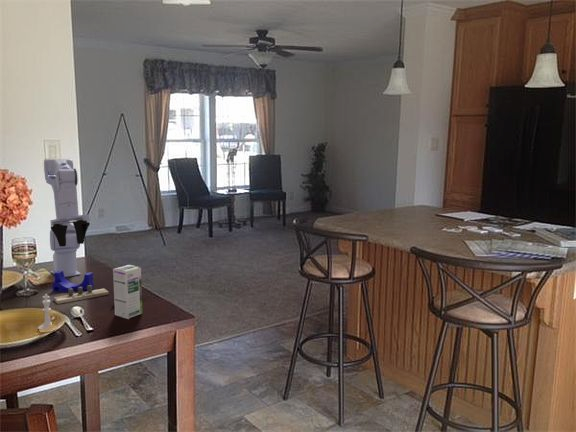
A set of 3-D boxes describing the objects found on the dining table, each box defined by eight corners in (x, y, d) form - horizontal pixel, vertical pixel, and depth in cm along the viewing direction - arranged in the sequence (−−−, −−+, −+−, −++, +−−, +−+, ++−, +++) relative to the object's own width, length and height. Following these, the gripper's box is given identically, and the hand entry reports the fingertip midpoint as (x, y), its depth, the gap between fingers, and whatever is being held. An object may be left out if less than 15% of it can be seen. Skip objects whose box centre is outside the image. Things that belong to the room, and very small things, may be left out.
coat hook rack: (53, 300, 163) (53, 291, 163) (104, 291, 173) (103, 282, 173) (57, 303, 160) (57, 294, 160) (108, 294, 170) (108, 285, 170)
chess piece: (41, 325, 143) (40, 291, 141) (60, 325, 144) (58, 291, 142) (34, 332, 138) (32, 297, 137) (53, 332, 139) (52, 297, 137)
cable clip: (52, 291, 172) (51, 274, 171) (59, 287, 177) (58, 270, 176) (87, 293, 171) (86, 276, 170) (93, 289, 176) (92, 272, 175)
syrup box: (127, 319, 149) (126, 271, 147) (114, 315, 152) (112, 267, 150) (142, 313, 154) (141, 267, 152) (129, 309, 157) (128, 263, 155)
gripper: (42, 206, 171) (45, 247, 170) (77, 200, 166) (80, 242, 165) (58, 208, 177) (61, 247, 176) (92, 202, 172) (95, 242, 171)
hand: (71, 245), depth 171 cm, fingers open, 7 cm apart
